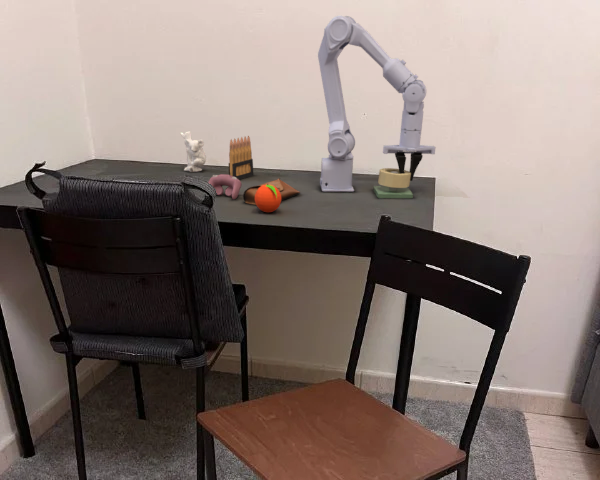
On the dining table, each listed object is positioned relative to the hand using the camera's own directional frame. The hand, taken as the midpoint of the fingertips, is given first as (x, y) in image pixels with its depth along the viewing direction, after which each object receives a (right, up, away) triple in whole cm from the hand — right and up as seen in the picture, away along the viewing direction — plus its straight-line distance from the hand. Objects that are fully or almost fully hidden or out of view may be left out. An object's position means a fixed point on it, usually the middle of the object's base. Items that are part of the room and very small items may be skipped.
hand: (405, 180), depth 178 cm
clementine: (-39, -15, -17) cm, 45 cm away
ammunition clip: (-49, +7, +18) cm, 53 cm away
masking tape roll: (-4, -1, 0) cm, 4 cm away
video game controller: (-52, -6, -3) cm, 53 cm away
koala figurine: (-66, +12, +26) cm, 72 cm away
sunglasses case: (-38, -7, -5) cm, 39 cm away
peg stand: (-4, -3, +2) cm, 5 cm away
